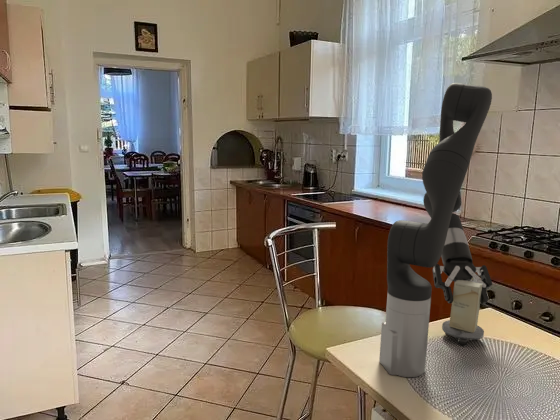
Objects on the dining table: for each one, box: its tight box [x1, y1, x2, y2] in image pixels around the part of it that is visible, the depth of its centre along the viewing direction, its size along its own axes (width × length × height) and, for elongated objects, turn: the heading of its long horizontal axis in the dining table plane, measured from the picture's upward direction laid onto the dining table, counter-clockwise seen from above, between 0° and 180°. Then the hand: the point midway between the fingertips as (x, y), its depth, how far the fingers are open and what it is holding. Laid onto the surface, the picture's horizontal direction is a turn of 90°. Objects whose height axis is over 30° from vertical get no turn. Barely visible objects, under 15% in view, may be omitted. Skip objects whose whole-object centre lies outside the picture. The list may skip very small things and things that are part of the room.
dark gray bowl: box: [441, 319, 485, 347], centre depth 113 cm, size 10×10×3 cm
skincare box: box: [449, 280, 482, 333], centre depth 112 cm, size 6×4×12 cm
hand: (467, 302), depth 110 cm, fingers open, 8 cm apart
